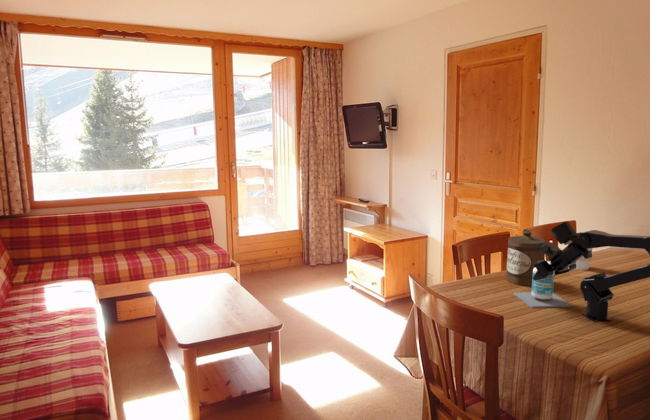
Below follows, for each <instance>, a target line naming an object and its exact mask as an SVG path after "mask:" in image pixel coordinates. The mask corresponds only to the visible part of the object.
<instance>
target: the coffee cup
mask: <svg viewBox="0 0 650 420" xmlns="http://www.w3.org/2000/svg"><path fill="white" fill-rule="evenodd" d="M588 250H591V251H592V252H593V248H589V249H588ZM590 262H591V258H588V259H585V258H584V257H583V256H582V257H581V258H580V259H578V260H577V261H576V269H575V270H582V271H583V270H585V271H587V270H589V268H590Z"/></svg>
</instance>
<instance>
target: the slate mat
mask: <svg viewBox="0 0 650 420" xmlns="http://www.w3.org/2000/svg"><path fill="white" fill-rule="evenodd" d="M512 294H513V295H514V296H515V297H516V298H517V299H519V300H520V301H522V302H523V303H525V304H526V305H527V306H528V307H530V308H531V309H534V308H535V309H536V308H537V309H539V308H541V309H542V308H572V307H573V304H571V303H570V302H567V300H565V299H563V298H561V297H560V296H558V295H557V294H556V293H553V297H552V298H551V299H538V298H535V297H533V296H532V294H531V291H527V292H525V291H523V292H512Z"/></svg>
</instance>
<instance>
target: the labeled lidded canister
mask: <svg viewBox="0 0 650 420" xmlns="http://www.w3.org/2000/svg"><path fill="white" fill-rule="evenodd" d="M531 235H532V231H531V230H527V229H525V230H523V231H522V235H515V236H509V237H508V240H507V257H506V258H507V259H506V273H505V274H506V278H505V279H506V281H507V282H510V283H512V284H515V285H518V286H519V285H520V286H527V287H529V286H530V287H532V278H533V269H534V268H535V266H534V263H536V262H537V261H540V260H546V258H545V257H546V254H544V253H542V252H541V251H540V246H541V245H542V244H544V243H546V240H545V239H543V238H541V237H537V236H531Z"/></svg>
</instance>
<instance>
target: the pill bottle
mask: <svg viewBox="0 0 650 420" xmlns="http://www.w3.org/2000/svg"><path fill="white" fill-rule="evenodd" d="M546 261H547V262H548V264H549V265H551V263H550V262H551V261H549V260H546ZM536 272H537V269H536V268H534V269H533V277H534V275H535V273H536ZM555 276H556V275H555V271H554V274H553V275H552V276H550V277H549V278H544V279H540V280H535V281H534V280H533V278H532V286H531V291H530V292H531V294H532V296H533V297H535V298H538V299H551V298H552V297H553V294H554V288H555V287H554V286H555Z"/></svg>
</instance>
